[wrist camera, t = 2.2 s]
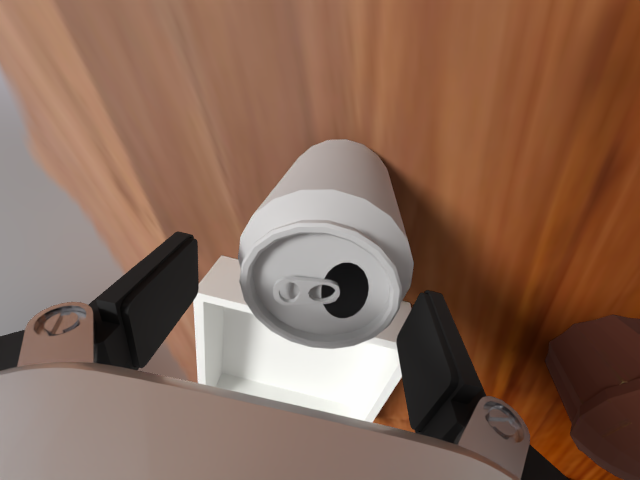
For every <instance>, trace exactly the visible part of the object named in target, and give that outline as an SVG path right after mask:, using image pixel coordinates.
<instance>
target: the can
mask: <svg viewBox="0 0 640 480" xmlns="http://www.w3.org/2000/svg"><path fill="white" fill-rule="evenodd" d="M238 260H239V264H240V268H241V272H240V280H239V283H240V286H241V290H242V294H243V298H244V301H245V302H246V304H247V305H248V307H249V308H250V310H251V311H252V313H253V314H254V316H255V317H256V318H257V319H258V320H259V321H260V322H261V323H263V324H264V325H265V326H266V327H267V328H268V329H269V330H271V331H272V332H274V333H275V334H277V335H279V336H281V337H283V338H285V339H287V340H289V341H291V342H294V343H298V344H301V345H305V346H308V347H313V348H326V349H336V348H343V347H350V346H355V345H357V344H360V343H362V342H365V341H367V340H370V339H372V338H374V337H376V336H377V335H378V334H379V333H381V332H382V331H383V330H384V329H386V328H387V327H388V326H389V325H390V324H391V322H392V321H393V319H394V317H395V316H396V314H397V312H398V311H399V309H400V303H401V302H402V300H403V298H404V297H405V295H406V293H407V291H408V290H409V288H410V286H411V280H412V273H413V266H414V262H413V258H412V255H411V251H410V247H409V243H408V239H407V236H406V232H405V229H404V225H403V222H402V219H401V215H400V212H399V208H398V205H397V201H396V198H395V194H394V191H393V187H392V184H391V180H390V177H389V174H388V170H387V168H386V167H385V165H384V164H383V162H382V161H381V159H380V158H379V156H378V155H377V154H375V153H374V152H373V151H371V150H370V149H369V148H367V147H366V146H364V145H363V144H360V143H356V142H353V141H350V140H346V139H343V140H327V141H324V142H322V143H319V144H316V145H314V146H312V147H310V148H309V149H308V150H307V151H306V152H304V153H303V154H302V155H301V156H300V157H299V158H298V159H297V160H296V162H295V163H294V164H293V165H292V167H291V168H290V169H289V170H288V172H287V173H286V174H285V175H284V177H283V178H282V179H281V180H280V182H279V183H278V184H277V185H276V187H275V188H274V189H273V190H272V192H271V193H270V194H269V195H268V197H267V198H266V199H265V201H264V202H263V203H262V204H261V206H260V207H259V208H258V209H257V211H256V212H255V213H254V214H253V216H252V217H251V219H250V221H249V223H248V224H247V226H246V228H245V230H244V231H243V233H242V235H241V238H240V246H239V254H238Z"/></svg>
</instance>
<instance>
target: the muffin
mask: <svg viewBox="0 0 640 480" xmlns="http://www.w3.org/2000/svg"><path fill="white" fill-rule="evenodd" d="M545 363H546V365H547V367H548V370H549V372H550V374H551V377H552V379H553V381H554V384H555V386H556V388H557V391H558V393H559V395H560V397H561V400H562V402H563V404H564V407H565V409H566V411H567V414H568V416H569V418H570V420H571V423H572V426H571V432H570V435H571V437H572V439H573V441H574V442H575V444H576V446H577V447H578V449H579V450H581V451H582V452H584V453H585V454H586V455H587V456H588V457H589V458H591V459H592V460H593V461H594V462H595V463H596V464H598V465H599V466H600V467H602V468H604V469H605V470H607V471H608V472H610V473H612V474H613V475H615V476H617V477H619V478H621V479H624V480H640V319H636V318H627V317H622V316H617V315H610V316H606V317H603V318H600V319H596V320H593V321H587V322H582V323H577V324H573V325H572V326H571V327H570V328H569V329H568V330H566V331H565V332H564V333H563V334H561V335H560V336H558V337H556V338H555V339H553V340H552V341H550V342H549V349H548V354H547V356H546V359H545Z"/></svg>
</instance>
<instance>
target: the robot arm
mask: <svg viewBox="0 0 640 480" xmlns="http://www.w3.org/2000/svg"><path fill="white" fill-rule="evenodd" d="M198 289H199V286H198V245H197V240H196V239H194V237H193V235H191V234H187V233H182V232H176V233H174V234H173V235H172V236H171V237H169V238H168V239H167V240H166V241H165V242H163V243H162V244H161V245H160V246H159V247H157V248H156V249H155V250H154V251H153V252H151V253H150V254H149V255H148V256H147V257H145V258H144V259H143V260H142V261H140V262H139V263H138V264H137V265H135V266H134V267H133V268H132V269H131V270H129V271H128V272H127V273H126V274H125V275H123V276H122V277H121V278H120V279H119V280H117V281H116V282H115V283H114V284H113V285H111V286H110V287H109V288H108V289H107V290H106V291H104V292H103V293H102V294H101V295H100V296H98V297H97V298H96V299H95V300H93V301H92V302H91V303H90V304H89V305H87V304H84V303H81V302H67V303H61V304H58V305H54V306H51V307H49V308H47V309H44V310H42V311H41V312H39V313H38V314H36V315H35V316H34V317H33V318H32V319H31V320H30V321H29V322H28V324H27V326H26V328H25V330H22V331H19V332H15V333H11V334H8V335H4V336H0V480H569V479H568V478H567V477H566V476H564V475H563V474H562V473H561V472H560V471H559V470H558V469H557V468H555V467H554V466H553V465H552V464H551V463H550V462H549V461H548V460H547V459H545V458H544V457H543V456H542V455H541V454H540V453H539V452H538V451H536V450H535V449H534V448H533V447H532V446H531V445H530V434H529V431H528V428H527V426H526V425H525V423H524V421H523V420H522V418H521V417H520V416H519V415H518V413H517V412H516V411H515V410H514V409H513V408H511V407H510V406H509V405H508V404H506V403H505V402H503V401H502V400H500V399H497V398H495V397H490V396H486V394H485V392H484V389H483V387H482V385H481V383H480V380H479V378H478V376H477V373H476V371H475V369H474V366H473V364H472V362H471V359H470V357H469V355H468V353H467V350H466V348H465V346H464V343H463V341H462V339H461V336H460V334H459V332H458V330H457V327H456V325H455V323H454V320H453V318H452V316H451V313H450V311H449V309H448V306H447V304H446V302H445V300H444V297H443V295H442V294H441V293H437V292H433V291H429V290H426V291H425V292H424V293H420V294H419V296H418V298H417V300H416V302H415V304H414V305H413V307H412V309H411V311H410V313H409V315H408V317H407V319H406V320H405V322H404V324H403V326H402V328H401V330H400V332H399V334H398V336H397V340H396V345H397V350H398V356H399V362H400V368H401V374H402V380H403V385H404V391H405V397H406V403H407V409H408V414H409V420H410V425H411V428H412V429H414V430H415V432H416V433H413V432H409V431H405V430H401V429H397V428H393V427H389V426H385V425H380V424H376V423H372V422H367V421H363V420H359V419H354V418H350V417H346V416H341V415H337V414H333V413H328V412H324V411H320V410H315V409H311V408H307V407H302V406H298V405H293V404H289V403H285V402H280V401H276V400H271V399H267V398H262V397H258V396H253V395H249V394H245V393H240V392H236V391H231V390H227V389H222V388H217V387H213V386H208V385H204V384H199V383H195V382H190V381H186V380H180V379H177V378H172V377H167V376H163V375H158V374H153V373H147V372H142V371H138V368H139V367H140V368H143V367H144V366H145V365H146V364H147V363H148V362H149V360H150V359H151V357H152V356H153V355H154V353H155V352H156V351H157V349H158V348H159V347H160V345H161V344H162V343H163V341H164V340H165V339H166V337H167V336H168V334H169V333H170V332H171V330H172V329H173V328H174V326H175V325H176V324H177V322H178V321H179V320H180V318H181V317H182V315H183V314H184V313H185V311H186V310H187V309H188V307H189V306H190V305H191V303H192V302H193V301H194V299H195V298H196V296H197V294H198Z"/></svg>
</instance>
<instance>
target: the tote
mask: <svg viewBox="0 0 640 480" xmlns="http://www.w3.org/2000/svg"><path fill="white" fill-rule="evenodd" d="M240 272H241V268H240V264H239V260H238V259H234V258H230V257H226V256H222V255H221V257H220V258H219V259H218V260H217V262H216V263H215V264H214V266H213V267H212V268H211V269H210V271H209V272H208V273H207V274H206V276H205V277H204V278H203V279H202V281H201V282H200V283H199V284H198V286H199V289H198V294H197V296H196V298H195V299H194V301H193V302H194V320H195V338H196V355H197V373H198V383H199V384H204V385H208V386H213V387H217V388H222V389H227V390H231V391H236V392H240V393H245V394H249V395H253V396H258V397H262V398H267V399H271V400H276V401H280V402H285V403H289V404H293V405H298V406H302V407H307V408H311V409H315V410H320V411H324V412H328V413H333V414H337V415H341V416H346V417H350V418H354V419H359V420H363V421H367V422H373V421H374V419H375V417H376V416H377V414H378V413H379V411H380V410H381V408H382V407H383V405H384V404H385V402H386V400H387V399H388V397H389V396H390V394H391V393H392V391H393V390H394V388H395V387H396V385H397V383H398V382H399V380H400V379H401V377H402V374H401V368H400V362H399V356H398V350H397V345H396V340H397V336H398V334H399V332H400V330H401V328H402V326H403V324H404V322H405V320H406V319H407V317H408V315H409V313H410V311H411V305H410V303H409V302H405V301H402V302H401V303H400V309H399V311H398V312H397V314H396V316H395V317H394V319H393V321H392V322H391V324H390V325H389V326H388V327H387V328H386V329H384V330H383V331H382V332H381V333H379V334H378V335H377V336H376V337H374V338H372V339H370V340H367V341H365V342H362V343H360V344H357V345H355V346H350V347H343V348H336V349H326V348H313V347H308V346H305V345H301V344H298V343H294V342H291V341H289V340H287V339H285V338H283V337H281V336H279V335H277V334H275V333H274V332H272V331H271V330H269V329H268V328H267V327H266V326H265V325H264V324H263V323H261V322H260V321H259V320H258V319H257V318H256V317H255V316H254V314H253V313H252V311H251V310H250V308H249V307H248V305H247V304H246V302H245V301H244V298H243V294H242V290H241V286H240V283H239V280H240Z"/></svg>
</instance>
